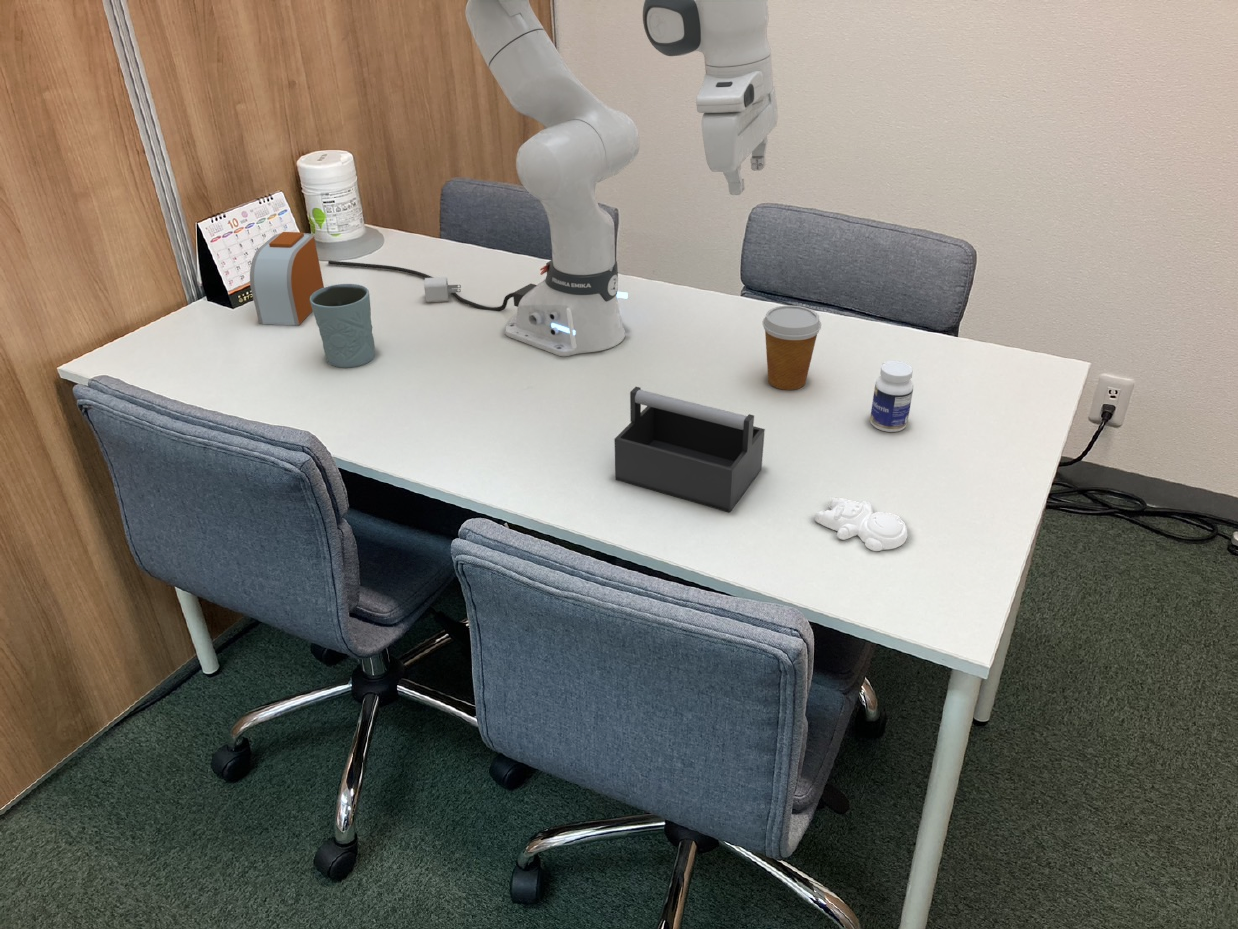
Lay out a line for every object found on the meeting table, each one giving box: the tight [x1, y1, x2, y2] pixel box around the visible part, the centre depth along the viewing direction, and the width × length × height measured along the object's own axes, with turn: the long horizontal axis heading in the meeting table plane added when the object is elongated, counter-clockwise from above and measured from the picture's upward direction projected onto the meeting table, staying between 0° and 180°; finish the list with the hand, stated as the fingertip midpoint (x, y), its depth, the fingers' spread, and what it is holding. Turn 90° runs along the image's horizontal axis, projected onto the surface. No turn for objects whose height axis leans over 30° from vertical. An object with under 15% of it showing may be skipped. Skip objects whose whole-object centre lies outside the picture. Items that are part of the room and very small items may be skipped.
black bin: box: [614, 386, 766, 513], centre depth 141 cm, size 18×12×12 cm, turn 62°
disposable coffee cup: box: [762, 304, 822, 391], centre depth 164 cm, size 10×10×12 cm
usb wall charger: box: [423, 276, 462, 303], centre depth 197 cm, size 4×7×4 cm, turn 96°
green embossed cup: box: [310, 283, 376, 369], centre depth 174 cm, size 10×10×12 cm
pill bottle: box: [869, 360, 914, 433], centre depth 153 cm, size 6×6×10 cm
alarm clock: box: [249, 231, 325, 326], centre depth 191 cm, size 15×8×14 cm, turn 172°
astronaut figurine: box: [814, 497, 908, 552], centre depth 132 cm, size 9×12×3 cm
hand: (748, 180), depth 141 cm, fingers open, 8 cm apart
